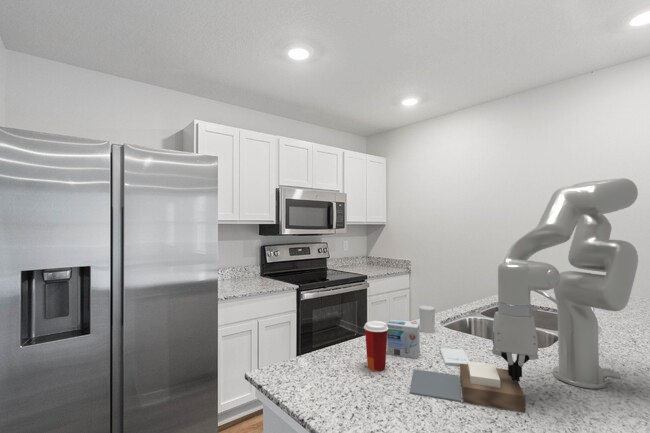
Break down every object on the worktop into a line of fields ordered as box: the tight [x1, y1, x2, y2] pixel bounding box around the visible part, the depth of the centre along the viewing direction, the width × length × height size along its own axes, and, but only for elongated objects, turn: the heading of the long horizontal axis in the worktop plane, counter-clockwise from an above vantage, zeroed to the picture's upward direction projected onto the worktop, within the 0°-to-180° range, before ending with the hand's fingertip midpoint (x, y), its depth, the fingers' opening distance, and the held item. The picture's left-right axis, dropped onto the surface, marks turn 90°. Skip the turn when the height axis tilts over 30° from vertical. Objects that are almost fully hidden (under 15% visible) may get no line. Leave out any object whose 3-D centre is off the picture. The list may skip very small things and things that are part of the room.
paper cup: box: [363, 320, 388, 373], centre depth 106 cm, size 8×8×14 cm
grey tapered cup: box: [418, 305, 436, 334], centre depth 142 cm, size 7×7×10 cm
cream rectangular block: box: [468, 360, 500, 388], centre depth 90 cm, size 7×10×2 cm
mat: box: [409, 368, 462, 403], centre depth 94 cm, size 13×15×1 cm
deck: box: [459, 364, 526, 413], centre depth 90 cm, size 14×15×4 cm
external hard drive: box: [439, 347, 470, 367], centre depth 113 cm, size 2×8×12 cm
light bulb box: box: [386, 318, 421, 360], centre depth 118 cm, size 11×7×11 cm, turn 68°
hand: (514, 378), depth 88 cm, fingers closed
